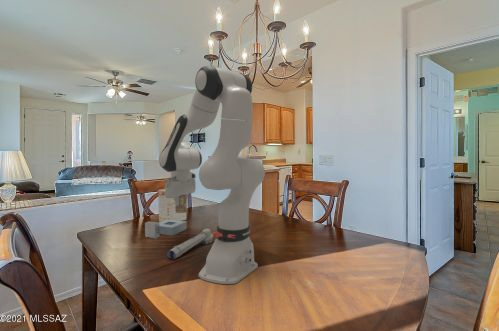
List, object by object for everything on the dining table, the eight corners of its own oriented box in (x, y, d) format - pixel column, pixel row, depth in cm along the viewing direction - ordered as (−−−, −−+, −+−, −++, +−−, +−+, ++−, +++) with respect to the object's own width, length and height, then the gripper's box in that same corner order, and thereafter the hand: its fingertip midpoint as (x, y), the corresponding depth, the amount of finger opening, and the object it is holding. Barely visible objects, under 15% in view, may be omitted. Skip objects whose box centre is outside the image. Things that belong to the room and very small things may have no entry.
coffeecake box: (179, 217, 166) (178, 186, 165) (187, 219, 162) (186, 187, 160) (158, 223, 154) (157, 189, 153) (166, 225, 150) (165, 190, 148)
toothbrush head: (165, 249, 104) (205, 224, 125) (167, 264, 105) (206, 238, 127) (175, 251, 101) (214, 226, 123) (177, 267, 103) (215, 239, 124)
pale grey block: (155, 238, 127) (155, 224, 127) (145, 237, 129) (144, 222, 129) (159, 236, 130) (159, 222, 130) (149, 235, 132) (149, 221, 132)
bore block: (172, 235, 132) (172, 227, 131) (152, 232, 136) (152, 225, 135) (186, 228, 143) (186, 221, 142) (167, 226, 147) (167, 219, 147)
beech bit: (182, 213, 126) (181, 196, 126) (175, 212, 128) (175, 196, 127) (186, 211, 130) (186, 195, 129) (180, 211, 131) (179, 194, 131)
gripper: (172, 177, 117) (173, 209, 118) (197, 174, 136) (198, 201, 137) (160, 177, 119) (161, 208, 120) (186, 174, 138) (187, 200, 139)
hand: (181, 204), depth 129 cm, fingers closed on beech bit, 4 cm apart
